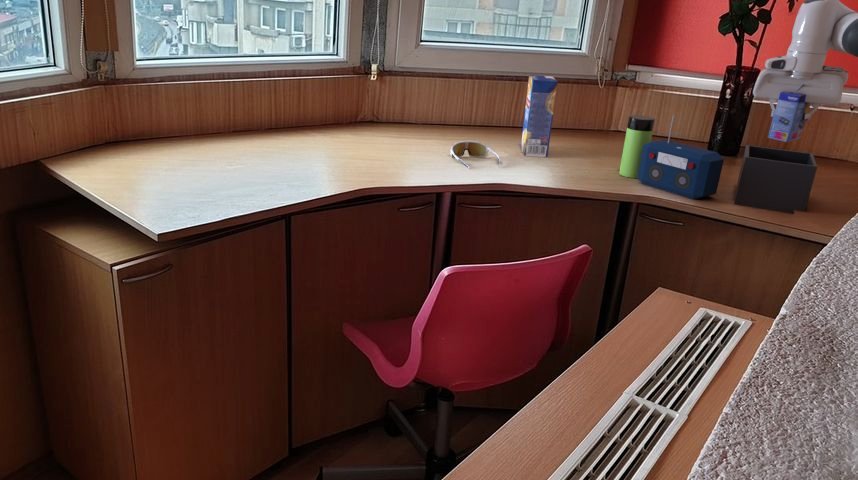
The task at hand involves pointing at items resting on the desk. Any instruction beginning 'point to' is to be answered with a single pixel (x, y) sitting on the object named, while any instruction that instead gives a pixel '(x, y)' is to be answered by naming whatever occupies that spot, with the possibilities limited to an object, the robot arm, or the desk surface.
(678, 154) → the radio
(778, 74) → the robot arm
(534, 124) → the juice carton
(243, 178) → the desk surface
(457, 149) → the sunglasses
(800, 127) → the ink cartridge box
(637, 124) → the tumbler
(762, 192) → the dark grey storage bin
